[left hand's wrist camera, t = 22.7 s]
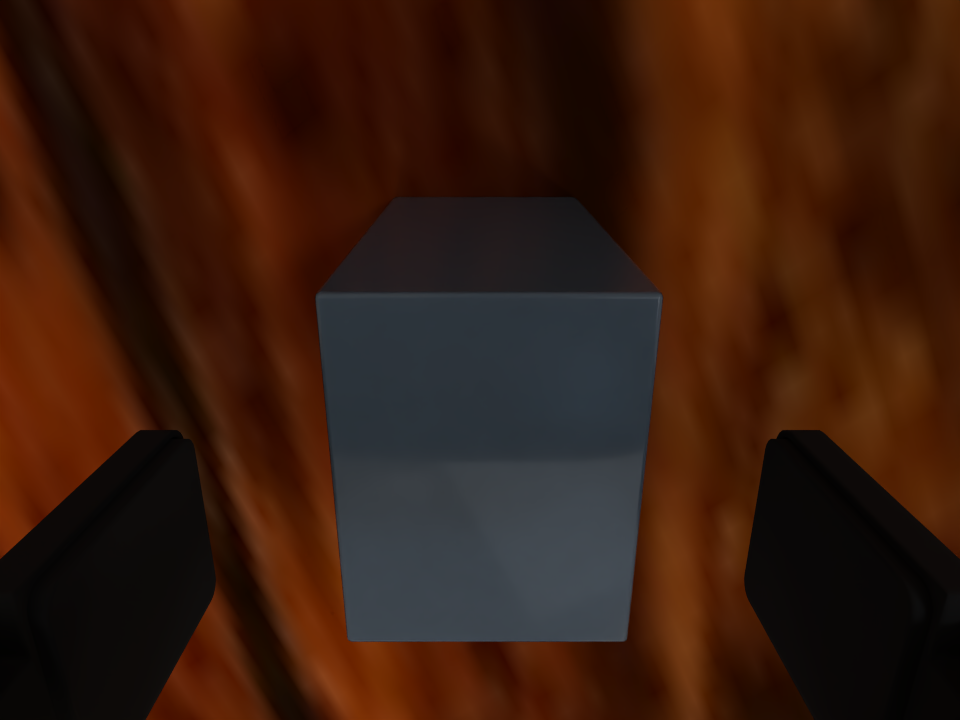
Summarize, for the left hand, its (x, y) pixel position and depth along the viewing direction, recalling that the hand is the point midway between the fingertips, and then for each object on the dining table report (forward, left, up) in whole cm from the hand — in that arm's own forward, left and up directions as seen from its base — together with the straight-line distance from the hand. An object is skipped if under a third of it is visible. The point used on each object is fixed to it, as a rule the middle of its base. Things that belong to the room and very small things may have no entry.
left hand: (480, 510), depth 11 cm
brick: (0, 0, -9) cm, 9 cm away
